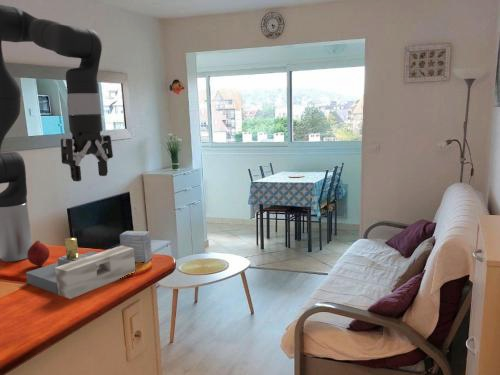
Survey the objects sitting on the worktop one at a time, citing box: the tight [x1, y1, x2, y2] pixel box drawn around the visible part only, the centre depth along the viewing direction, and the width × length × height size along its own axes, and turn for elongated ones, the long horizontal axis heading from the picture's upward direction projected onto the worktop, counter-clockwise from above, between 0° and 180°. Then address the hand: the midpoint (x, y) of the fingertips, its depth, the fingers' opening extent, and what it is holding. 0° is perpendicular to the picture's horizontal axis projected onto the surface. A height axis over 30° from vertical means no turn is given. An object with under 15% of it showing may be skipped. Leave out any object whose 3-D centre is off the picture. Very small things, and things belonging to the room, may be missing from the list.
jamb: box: [55, 245, 136, 300], centre depth 110 cm, size 5×20×7 cm, turn 145°
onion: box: [27, 239, 50, 267], centre depth 124 cm, size 6×6×8 cm
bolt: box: [60, 237, 86, 261], centre depth 114 cm, size 11×3×7 cm, turn 55°
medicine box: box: [119, 230, 153, 264], centre depth 126 cm, size 8×4×9 cm, turn 78°
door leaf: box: [25, 251, 99, 295], centre depth 115 cm, size 14×20×5 cm
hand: (90, 178), depth 106 cm, fingers open, 8 cm apart
